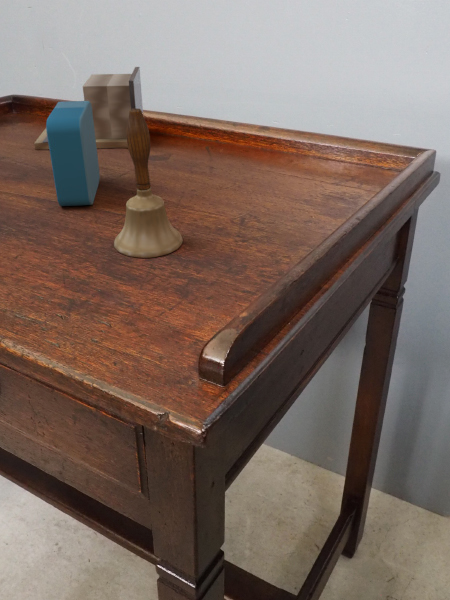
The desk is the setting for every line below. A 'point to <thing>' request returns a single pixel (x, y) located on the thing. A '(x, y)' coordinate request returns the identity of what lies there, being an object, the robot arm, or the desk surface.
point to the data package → (73, 152)
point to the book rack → (108, 107)
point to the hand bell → (144, 203)
